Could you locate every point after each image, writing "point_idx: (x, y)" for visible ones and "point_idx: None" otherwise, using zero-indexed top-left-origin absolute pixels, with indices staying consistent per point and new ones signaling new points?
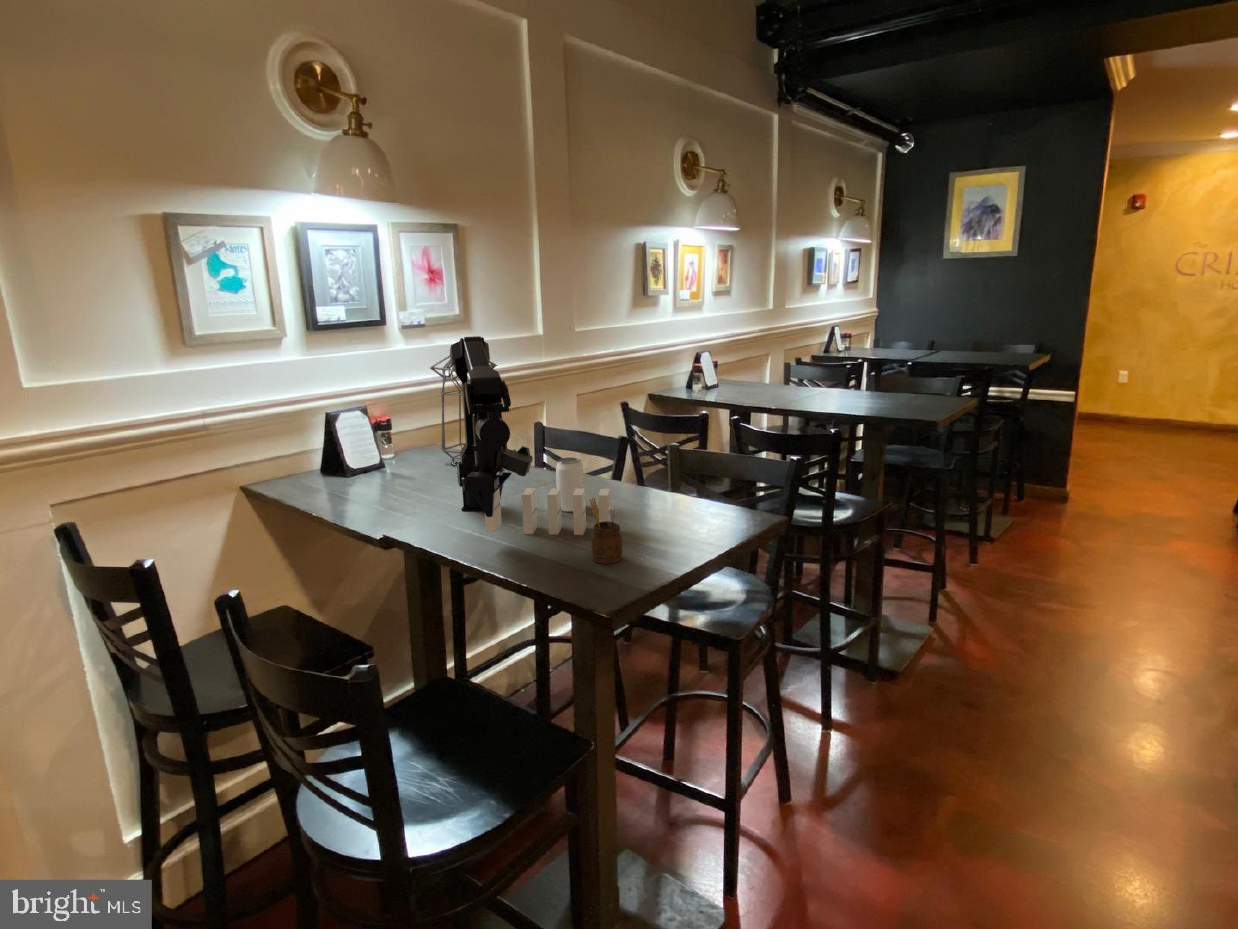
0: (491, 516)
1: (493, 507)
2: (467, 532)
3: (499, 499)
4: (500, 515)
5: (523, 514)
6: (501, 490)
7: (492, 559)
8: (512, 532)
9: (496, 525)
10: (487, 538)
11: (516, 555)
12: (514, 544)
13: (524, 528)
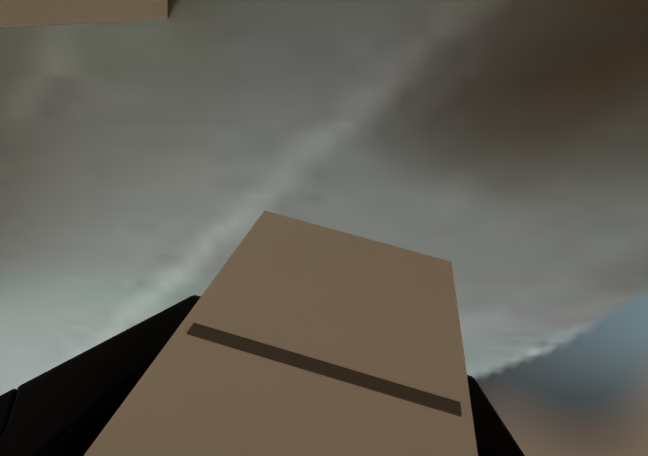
0: (473, 380)
1: (472, 448)
2: (155, 309)
3: (185, 374)
4: (259, 252)
5: (63, 18)
6: (29, 443)
7: (581, 222)
8: (141, 98)
9: (415, 271)
10: (235, 233)
11: (575, 71)
12: (352, 86)
13: (144, 13)
